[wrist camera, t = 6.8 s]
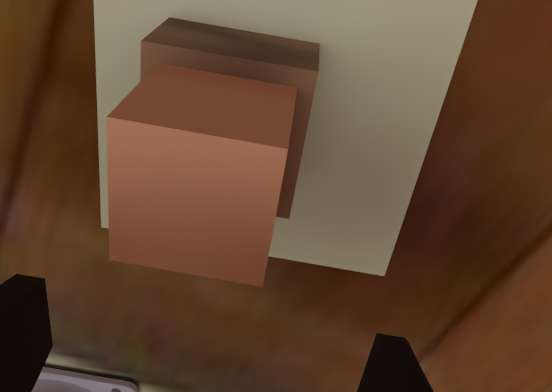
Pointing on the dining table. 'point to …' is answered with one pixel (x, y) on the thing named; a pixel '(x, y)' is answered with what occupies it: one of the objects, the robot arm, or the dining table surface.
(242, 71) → the walnut base brick
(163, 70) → the terracotta cube
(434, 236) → the dining table surface
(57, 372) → the robot arm
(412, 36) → the plate
